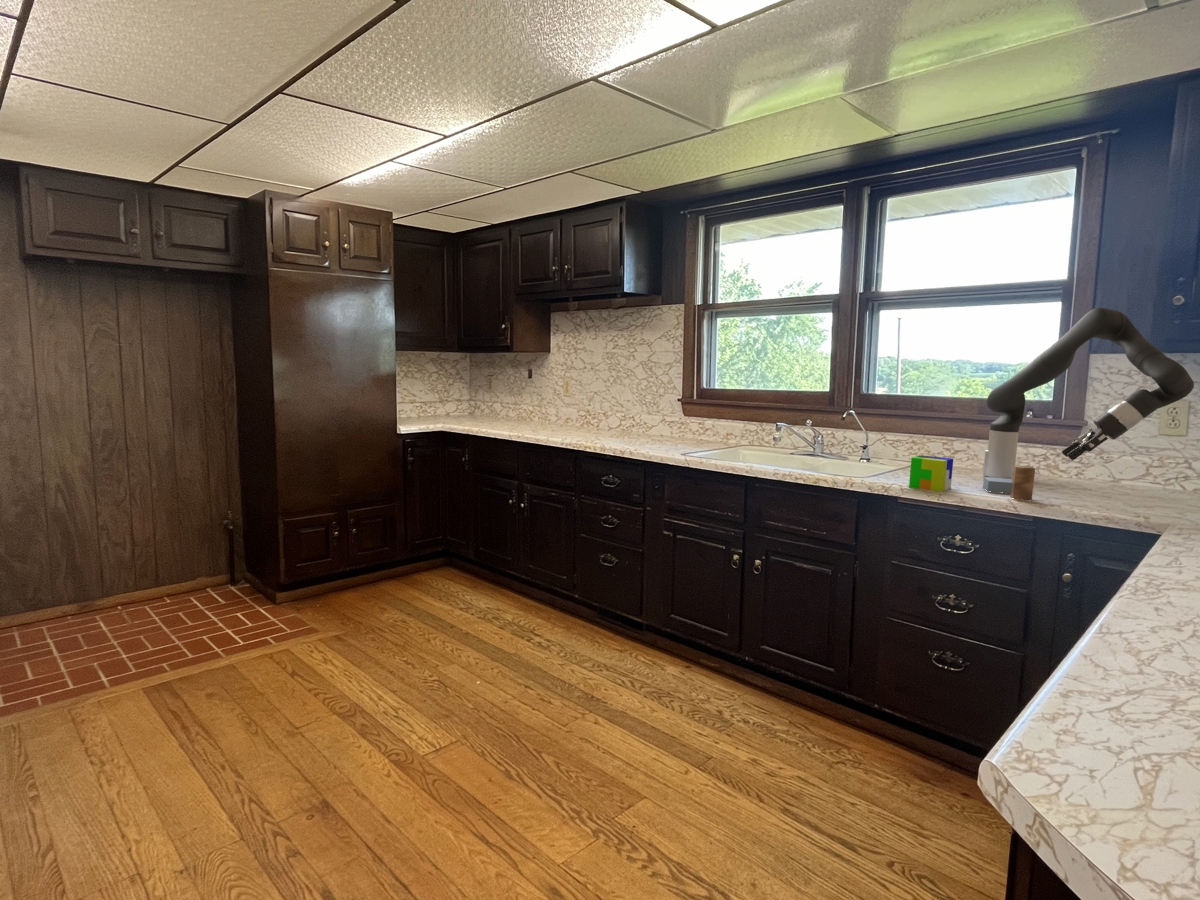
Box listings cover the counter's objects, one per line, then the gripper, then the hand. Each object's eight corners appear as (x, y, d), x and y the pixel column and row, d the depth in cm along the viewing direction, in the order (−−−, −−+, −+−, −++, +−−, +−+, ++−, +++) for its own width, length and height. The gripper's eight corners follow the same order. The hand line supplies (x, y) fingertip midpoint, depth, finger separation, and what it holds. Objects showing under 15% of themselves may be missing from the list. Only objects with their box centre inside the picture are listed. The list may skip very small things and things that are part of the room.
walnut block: (1012, 499, 206) (1015, 467, 205) (1010, 496, 210) (1013, 465, 209) (1031, 501, 204) (1035, 468, 203) (1029, 498, 208) (1032, 466, 207)
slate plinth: (987, 493, 218) (988, 480, 217) (982, 488, 226) (983, 476, 226) (1019, 495, 215) (1020, 483, 214) (1013, 491, 223) (1014, 479, 222)
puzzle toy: (950, 488, 224) (953, 458, 222) (941, 491, 216) (944, 461, 215) (919, 484, 230) (921, 455, 229) (908, 487, 223) (911, 457, 222)
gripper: (1102, 409, 202) (1052, 444, 208) (1114, 411, 189) (1061, 449, 195) (1121, 428, 200) (1071, 462, 207) (1135, 431, 188) (1081, 468, 194)
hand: (1066, 456), depth 201 cm, fingers open, 8 cm apart
